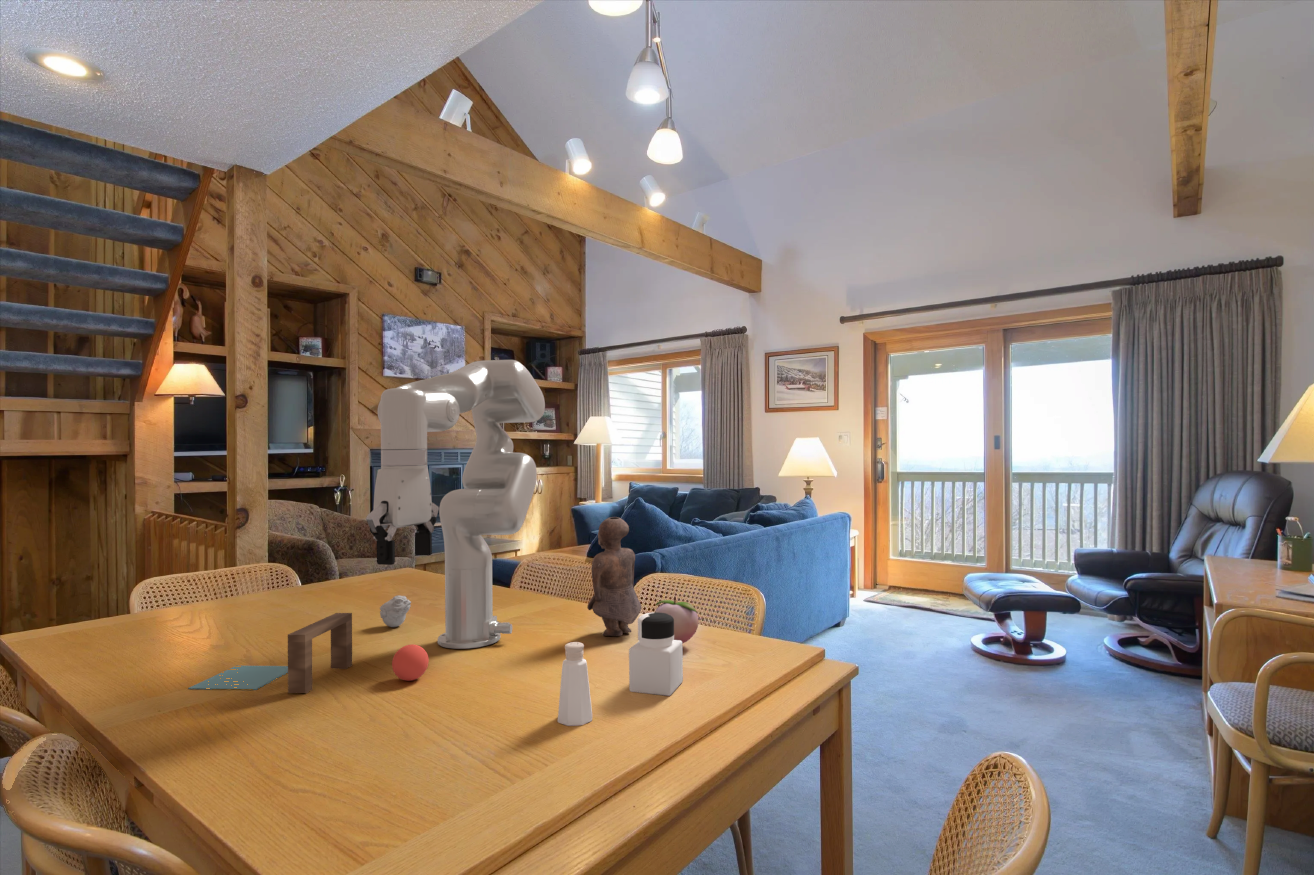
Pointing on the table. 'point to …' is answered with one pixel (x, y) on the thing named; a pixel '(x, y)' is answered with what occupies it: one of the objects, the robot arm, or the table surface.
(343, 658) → the bridge
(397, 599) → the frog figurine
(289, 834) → the table surface
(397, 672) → the ball
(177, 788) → the table surface
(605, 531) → the clay figurine
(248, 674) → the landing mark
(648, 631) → the medicine bottle
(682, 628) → the decorative fruit
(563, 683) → the pepper shaker
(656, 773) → the table surface
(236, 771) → the table surface
